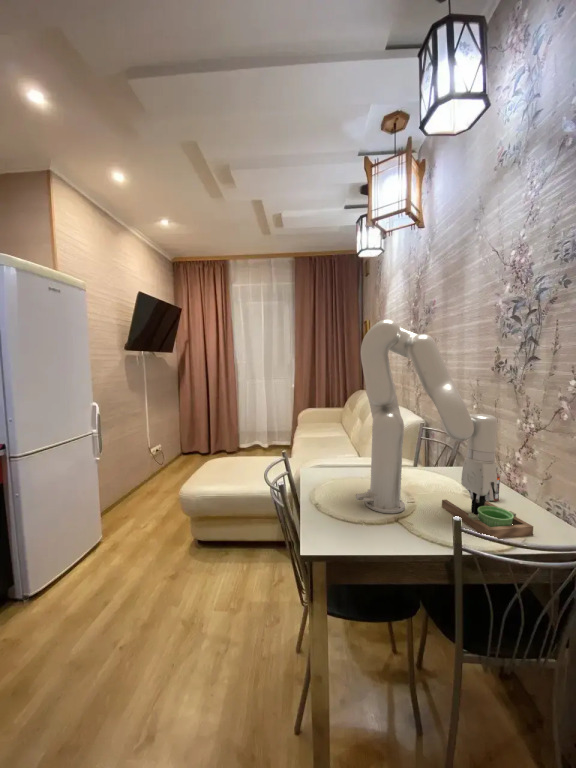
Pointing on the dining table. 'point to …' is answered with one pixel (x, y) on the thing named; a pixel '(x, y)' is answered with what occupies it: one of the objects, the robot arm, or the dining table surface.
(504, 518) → the ramekin
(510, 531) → the walnut track
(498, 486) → the supplement bottle
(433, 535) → the dining table surface
